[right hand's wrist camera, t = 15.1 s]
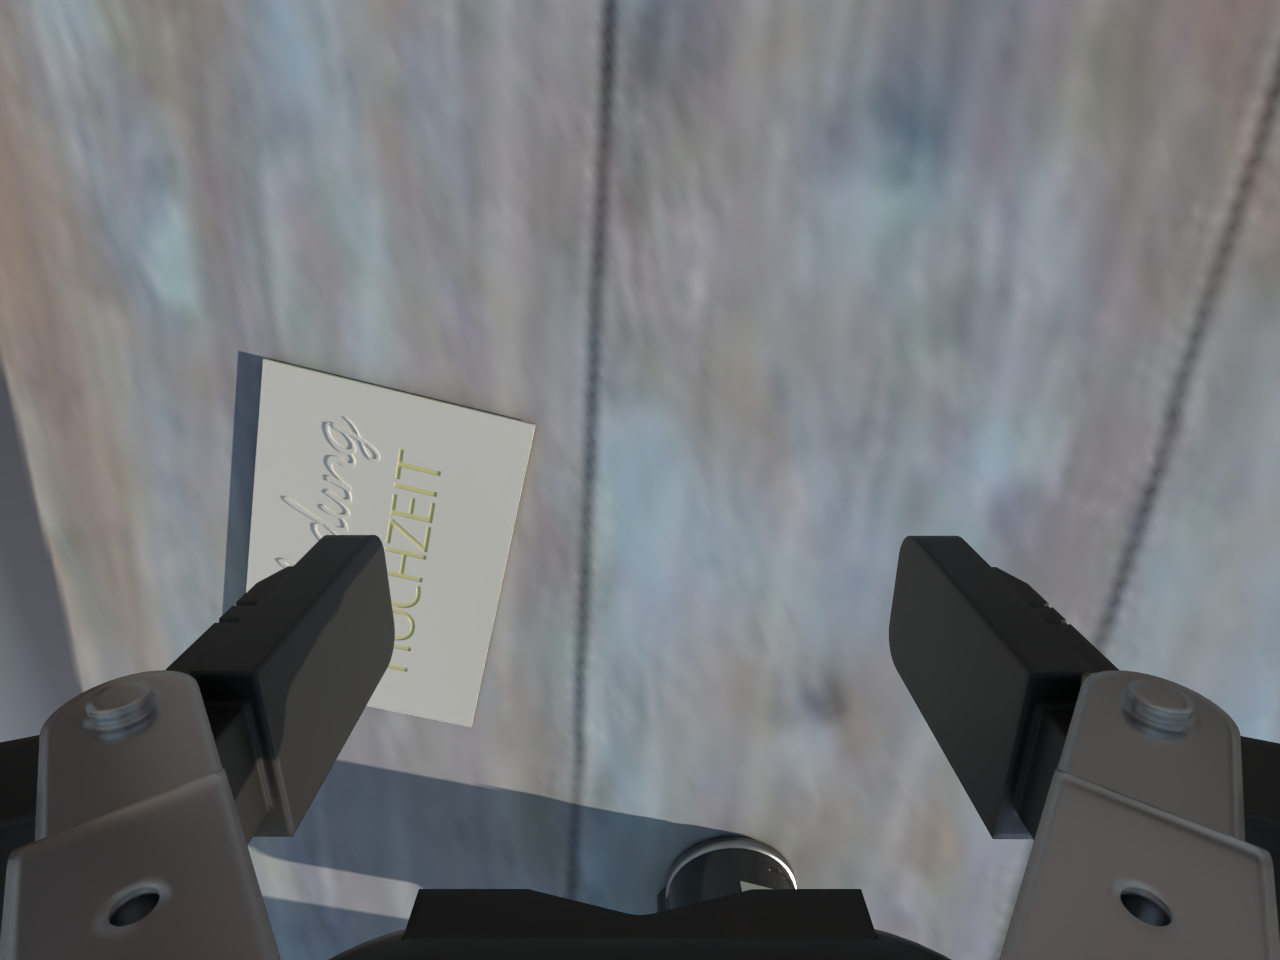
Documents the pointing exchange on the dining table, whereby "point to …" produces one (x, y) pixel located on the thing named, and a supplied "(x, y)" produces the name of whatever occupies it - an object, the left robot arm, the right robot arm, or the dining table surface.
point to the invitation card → (395, 516)
